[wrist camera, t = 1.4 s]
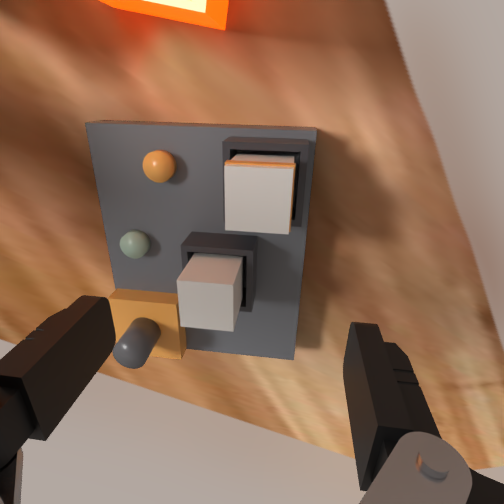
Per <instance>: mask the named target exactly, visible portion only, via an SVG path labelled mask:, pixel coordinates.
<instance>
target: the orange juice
mask: <svg viewBox="0 0 504 504" xmlns="http://www.w3.org/2000/svg"><path fill="white" fill-rule="evenodd" d="M99 1H101V2H103V3H105V4H107V5H109V6H111V7H113V8H118V9H123V10H128V11H133V12H138V13H142V14H147V15H152V16H157V17H162V18H167V19H172V20H177V21H181V22H186V23H191V24H196V25H201V26H206V27H211V28H216V29H220V30H225V26H226V18H227V10H228V2H229V0H99Z"/></svg>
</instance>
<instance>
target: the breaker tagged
mask: <svg viewBox="0 0 504 504" xmlns="http://www.w3.org/2000/svg"><path fill="white" fill-rule="evenodd" d="M295 166H296V163H294V156H277V155H254V154H236V155H235V156H234V157H233V158H232V159H231V160H227V161H225V166H224V184H225V230H230V231H245V232H260V233H274V234H289V232H290V230H291V217H292V204H293V191H294V179H295Z"/></svg>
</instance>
